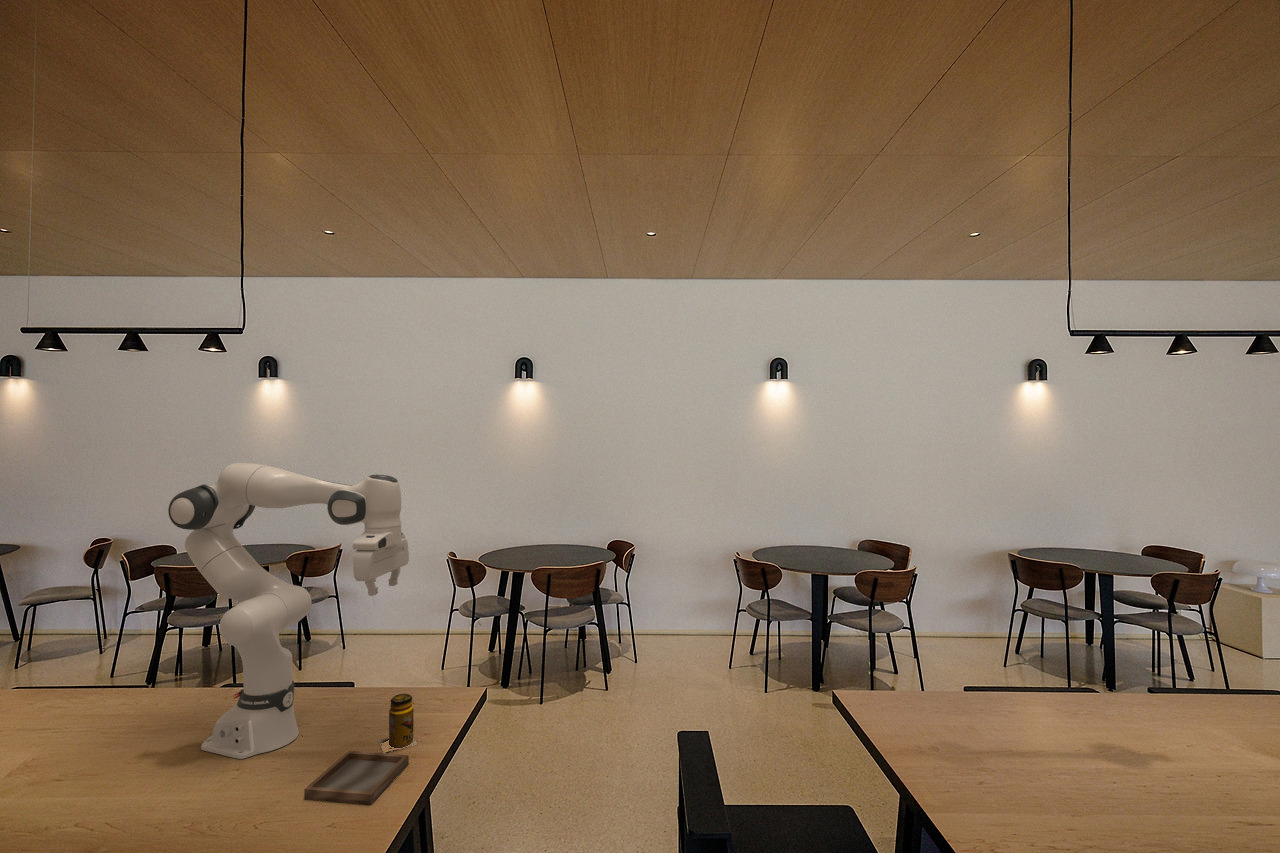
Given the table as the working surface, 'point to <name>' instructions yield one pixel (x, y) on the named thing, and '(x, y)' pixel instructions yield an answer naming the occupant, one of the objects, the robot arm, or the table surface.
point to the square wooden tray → (357, 778)
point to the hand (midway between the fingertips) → (383, 590)
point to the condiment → (400, 722)
